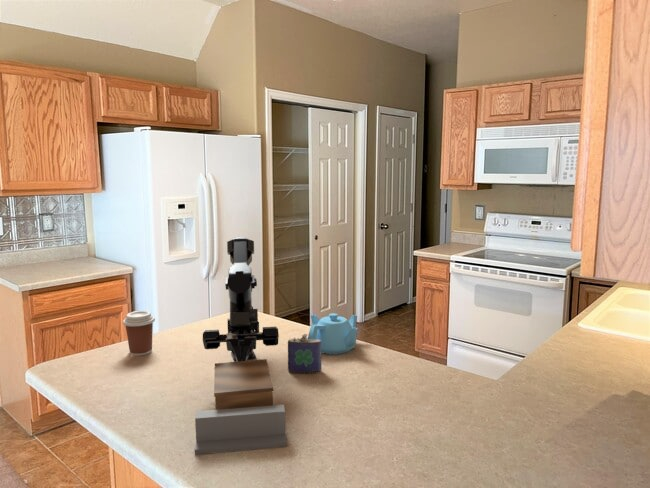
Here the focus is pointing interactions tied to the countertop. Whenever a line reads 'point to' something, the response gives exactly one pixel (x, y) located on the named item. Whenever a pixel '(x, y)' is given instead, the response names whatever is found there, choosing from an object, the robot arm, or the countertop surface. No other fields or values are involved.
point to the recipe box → (242, 384)
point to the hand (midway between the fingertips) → (241, 369)
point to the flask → (304, 355)
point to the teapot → (334, 333)
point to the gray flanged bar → (240, 429)
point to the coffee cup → (139, 332)
